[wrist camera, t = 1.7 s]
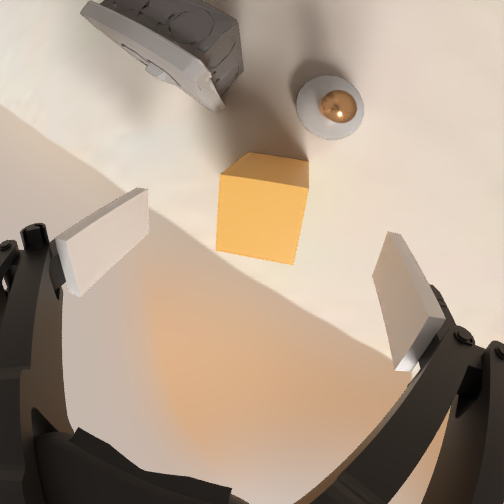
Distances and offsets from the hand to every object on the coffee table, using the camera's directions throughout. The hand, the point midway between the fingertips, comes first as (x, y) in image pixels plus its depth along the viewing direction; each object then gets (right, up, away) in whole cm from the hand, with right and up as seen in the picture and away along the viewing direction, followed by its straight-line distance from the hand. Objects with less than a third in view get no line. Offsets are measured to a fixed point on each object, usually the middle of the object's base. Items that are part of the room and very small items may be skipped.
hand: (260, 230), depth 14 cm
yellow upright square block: (+1, +4, +6) cm, 7 cm away
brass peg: (+5, +8, +1) cm, 9 cm away
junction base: (+5, +9, +2) cm, 10 cm away
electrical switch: (-5, +14, +2) cm, 14 cm away
